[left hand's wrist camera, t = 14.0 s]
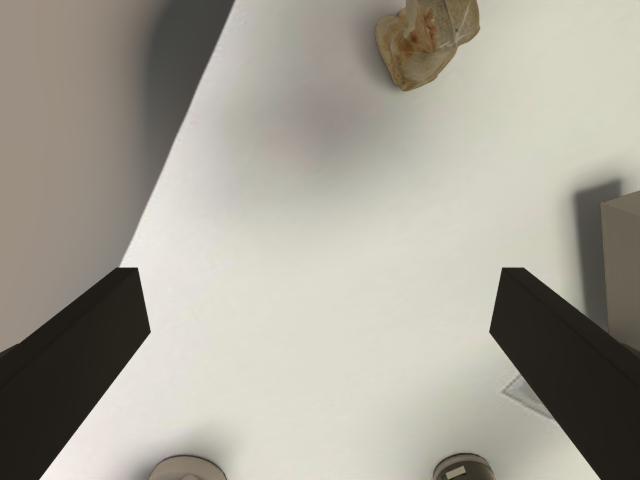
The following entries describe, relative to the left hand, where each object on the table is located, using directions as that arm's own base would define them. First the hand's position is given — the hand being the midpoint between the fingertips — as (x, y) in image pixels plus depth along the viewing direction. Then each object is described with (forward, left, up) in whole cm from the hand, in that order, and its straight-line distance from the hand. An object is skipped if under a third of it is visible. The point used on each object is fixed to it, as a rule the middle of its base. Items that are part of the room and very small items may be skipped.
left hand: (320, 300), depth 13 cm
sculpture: (-15, +1, -29) cm, 33 cm away
